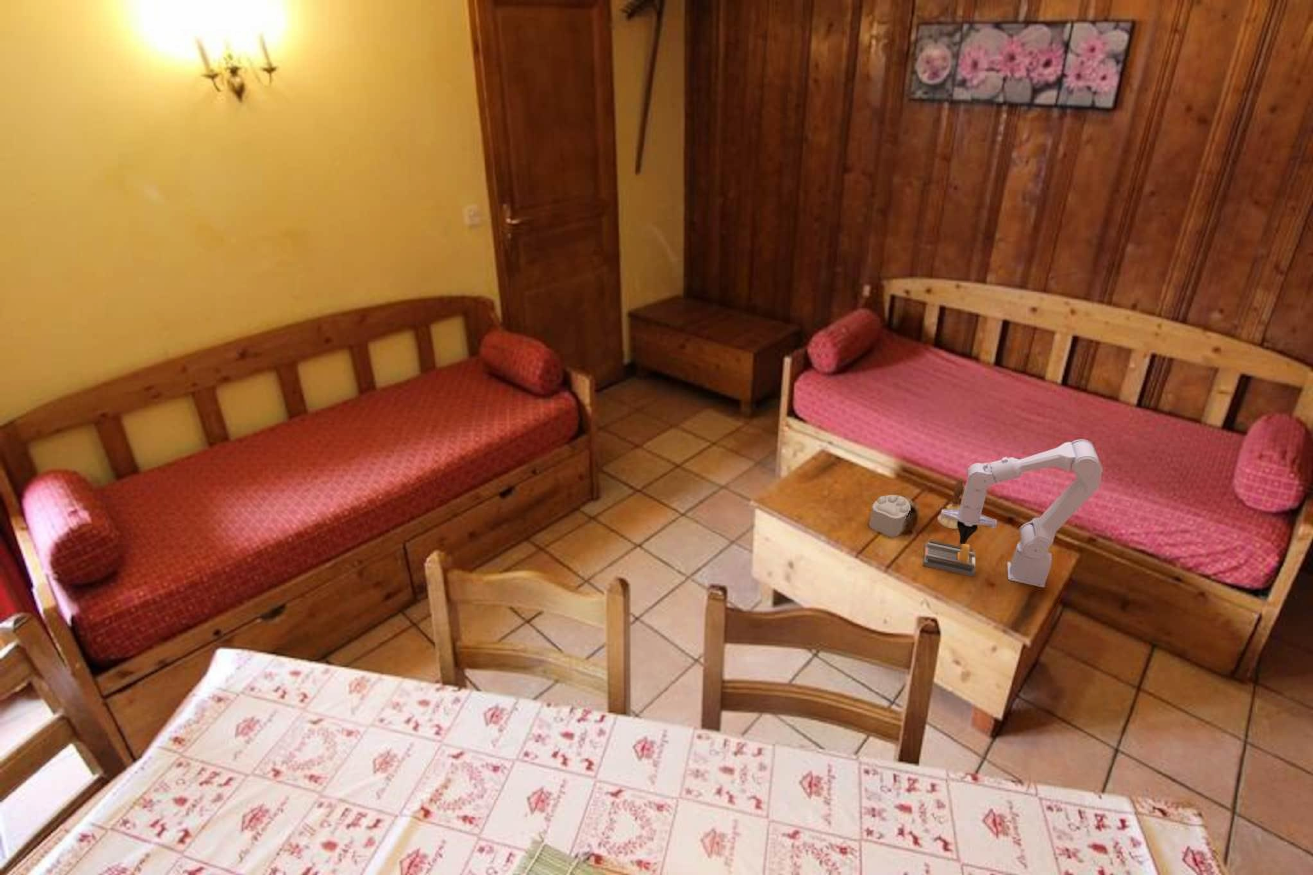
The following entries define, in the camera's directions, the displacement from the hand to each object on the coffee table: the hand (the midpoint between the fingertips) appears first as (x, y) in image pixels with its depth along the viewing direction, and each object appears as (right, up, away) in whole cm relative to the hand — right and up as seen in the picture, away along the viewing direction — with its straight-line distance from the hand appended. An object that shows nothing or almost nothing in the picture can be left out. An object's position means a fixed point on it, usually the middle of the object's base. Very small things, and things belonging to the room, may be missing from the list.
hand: (962, 542), depth 208 cm
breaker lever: (+1, -6, +3) cm, 6 cm away
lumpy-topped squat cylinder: (-14, +3, +21) cm, 25 cm away
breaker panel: (-2, -6, +5) cm, 8 cm away
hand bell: (+6, +3, +22) cm, 23 cm away
